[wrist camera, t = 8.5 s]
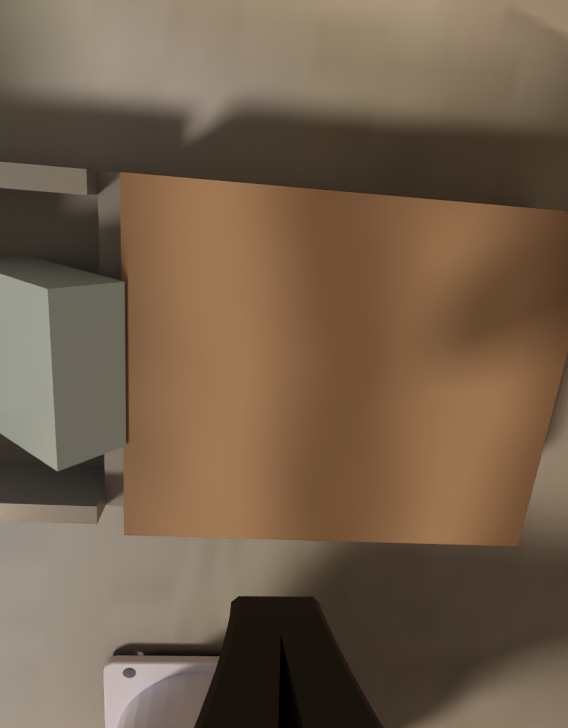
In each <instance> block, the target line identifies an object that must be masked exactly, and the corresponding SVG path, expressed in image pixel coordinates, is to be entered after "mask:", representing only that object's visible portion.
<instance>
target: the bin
mask: <svg viewBox="0 0 568 728" xmlns="http://www.w3.org/2000/svg"><path fill="white" fill-rule="evenodd" d="M21 256H31V257H35V258H38V259H42V260H46V261H50V262H53V263H57V264H61V265H64V266H68V267H72V268H75V269H79V270H83V271H87V272H90V273H94V274H98V275H101V276H105V277H109V278H112V279H116V280H120V281H121V223H120V172H112V171H101V170H90V169H79V168H68V167H56V166H45V165H34V164H22V163H11V162H0V257H21ZM105 505H122V506H124V472H123V447H121V448H119V449H116V450H113V451H111V452H108V453H105V454H103V455H100V456H97V457H95V458H92V459H89V460H87V461H84V462H82V463H79V464H76V465H74V466H71V467H68V468H66V469H63V470H60V471H58V472H57V471H56V470H54V469H53V468H51V467H50V466H48V465H47V464H45V463H44V462H42V461H41V460H39V459H38V458H36V457H35V456H33V455H32V454H30V453H29V452H27V451H26V450H25V449H23V448H22V447H20V446H19V445H17V444H16V443H14V442H13V441H11V440H10V439H8V438H7V437H5V436H4V435H2V434H1V433H0V521H18V522H52V523H85V524H97V523H98V521H99V518H100V516H101V514H102V512H103V509H104V507H105Z"/></svg>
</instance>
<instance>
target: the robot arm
mask: <svg viewBox="0 0 568 728" xmlns="http://www.w3.org/2000/svg"><path fill="white" fill-rule="evenodd" d="M128 668H133V669H132V670H131V669H128ZM104 704H105V728H383V726H382V725H381V723H380V721H379V719H378V718H377V716H376V714H375V712H374V711H373V709H372V707H371V706H370V704H369V702H368V700H367V699H366V697H365V695H364V694H363V692H362V690H361V688H360V687H359V685H358V683H357V681H356V679H355V677H354V676H353V674H352V672H351V670H350V668H349V666H348V664H347V662H346V660H345V659H344V657H343V655H342V653H341V651H340V649H339V647H338V645H337V643H336V641H335V639H334V637H333V635H332V632H331V630H330V628H329V626H328V624H327V622H326V619H325V617H324V615H323V612H322V610H321V607H320V605H319V603H318V602H317V601H316V600H315V599H314V598H313V597H258V596H238V597H237V598H236V599H235V600H233V601H232V602H231V610H230V618H229V623H228V628H227V632H226V636H225V640H224V643H223V647H222V650H221V654H220V656H129V655H118V656H113V657H111V658H109V659H108V660H107V661H106V664H105V668H104Z"/></svg>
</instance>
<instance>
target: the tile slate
mask: <svg viewBox="0 0 568 728" xmlns="http://www.w3.org/2000/svg"><path fill="white" fill-rule="evenodd" d="M0 433H1V434H2V435H4V436H5V437H7V438H8V439H10V440H11V441H13V442H14V443H16V444H17V445H19V446H20V447H22V448H23V449H25V450H26V451H27V452H29V453H30V454H32V455H33V456H35V457H36V458H38V459H39V460H41V461H42V462H44V463H45V464H47V465H48V466H50V467H51V468H53V469H54V470H56V471H57V472H58V471H60V470H63V469H66V468H68V467H71V466H74V465H76V464H79V463H82V462H84V461H87V460H89V459H92V458H95V457H97V456H100V455H103V454H105V453H108V452H111V451H113V450H116V449H119V448H121V447H124V446H126V386H125V282H123V281H120V280H116V279H112V278H109V277H105V276H101V275H98V274H94V273H90V272H87V271H83V270H79V269H75V268H72V267H68V266H64V265H61V264H57V263H53V262H50V261H46V260H42V259H38V258H35V257H31V256H21V257H0Z"/></svg>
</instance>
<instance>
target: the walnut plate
mask: <svg viewBox="0 0 568 728" xmlns="http://www.w3.org/2000/svg"><path fill="white" fill-rule="evenodd" d="M120 223H121V281H123V282H125V386H126V446H124V447H123V472H124V535H138V536H173V537H209V538H244V539H279V540H314V541H349V542H385V543H420V544H455V545H490V546H518V543H519V539H520V535H521V531H522V528H523V524H524V520H525V516H526V512H527V508H528V504H529V501H530V497H531V493H532V489H533V485H534V481H535V478H536V474H537V470H538V466H539V462H540V458H541V454H542V451H543V447H544V443H545V439H546V435H547V431H548V427H549V424H550V420H551V416H552V412H553V408H554V404H555V400H556V397H557V393H558V389H559V385H560V381H561V377H562V373H563V370H564V366H565V362H566V358H567V354H568V211H560V210H549V209H537V208H526V207H514V206H503V205H491V204H480V203H469V202H457V201H446V200H434V199H423V198H411V197H400V196H389V195H377V194H366V193H354V192H343V191H331V190H320V189H309V188H297V187H286V186H274V185H263V184H251V183H240V182H229V181H217V180H206V179H194V178H183V177H172V176H160V175H149V174H137V173H126V172H120Z"/></svg>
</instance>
